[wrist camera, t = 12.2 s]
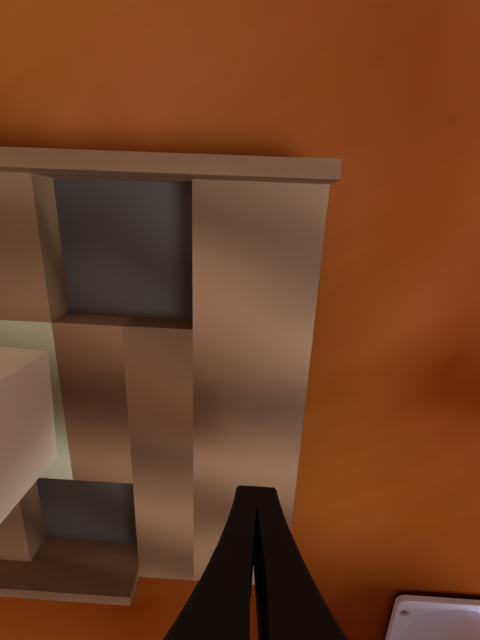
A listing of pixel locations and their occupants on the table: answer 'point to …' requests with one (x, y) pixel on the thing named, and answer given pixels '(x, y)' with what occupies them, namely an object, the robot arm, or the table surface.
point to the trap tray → (155, 352)
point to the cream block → (24, 423)
